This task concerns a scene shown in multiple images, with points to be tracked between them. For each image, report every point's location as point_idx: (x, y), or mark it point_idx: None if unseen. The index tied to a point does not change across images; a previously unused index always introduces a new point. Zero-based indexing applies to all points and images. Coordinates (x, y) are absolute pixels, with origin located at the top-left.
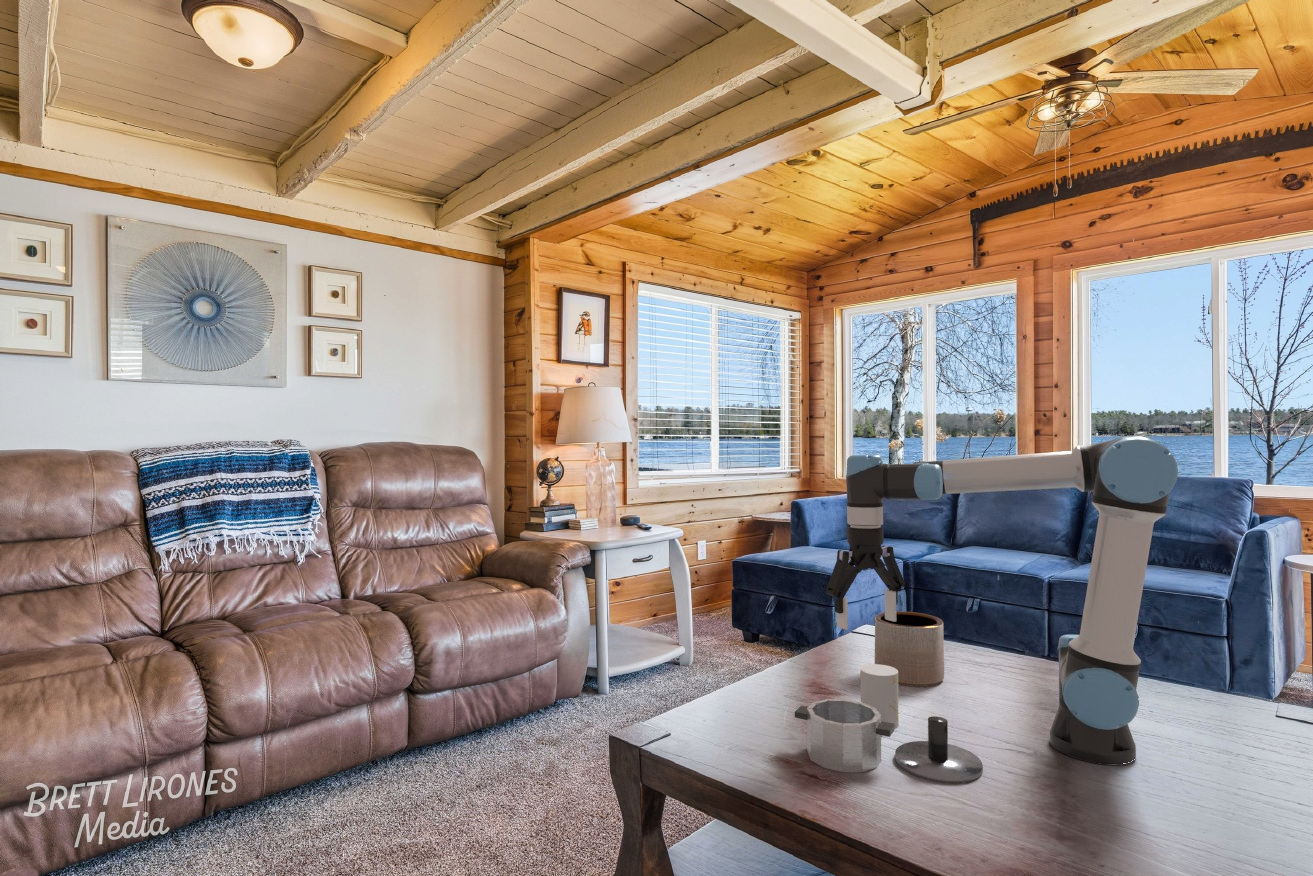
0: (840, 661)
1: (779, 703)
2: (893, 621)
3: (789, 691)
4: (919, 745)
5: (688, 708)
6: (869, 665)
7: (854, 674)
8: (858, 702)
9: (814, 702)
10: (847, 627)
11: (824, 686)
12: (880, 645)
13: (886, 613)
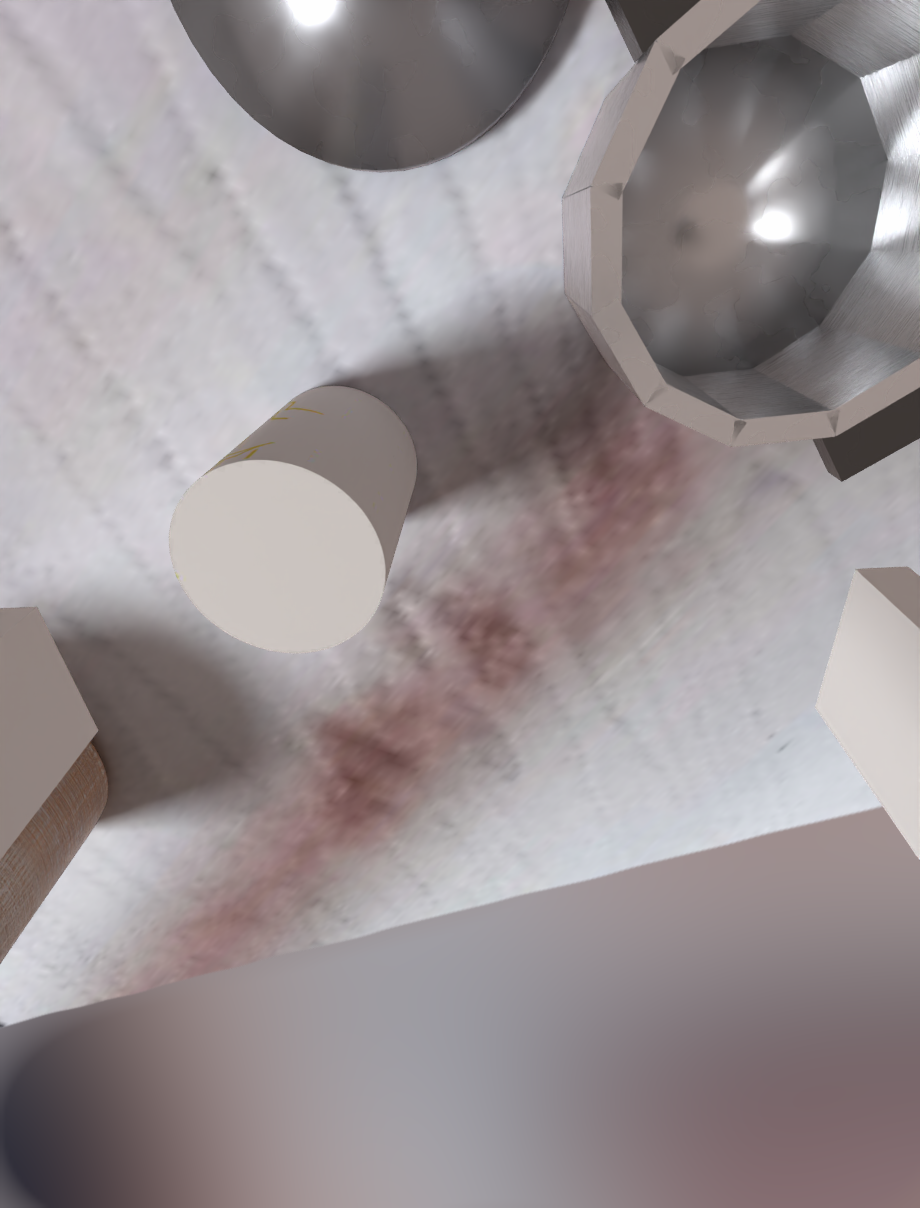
0: (169, 907)
1: (575, 736)
2: (39, 615)
3: (476, 795)
4: (354, 108)
5: (869, 802)
6: (289, 640)
7: (179, 824)
8: (610, 326)
9: (830, 431)
10: (884, 580)
11: (337, 787)
12: (35, 873)
13: (43, 764)
